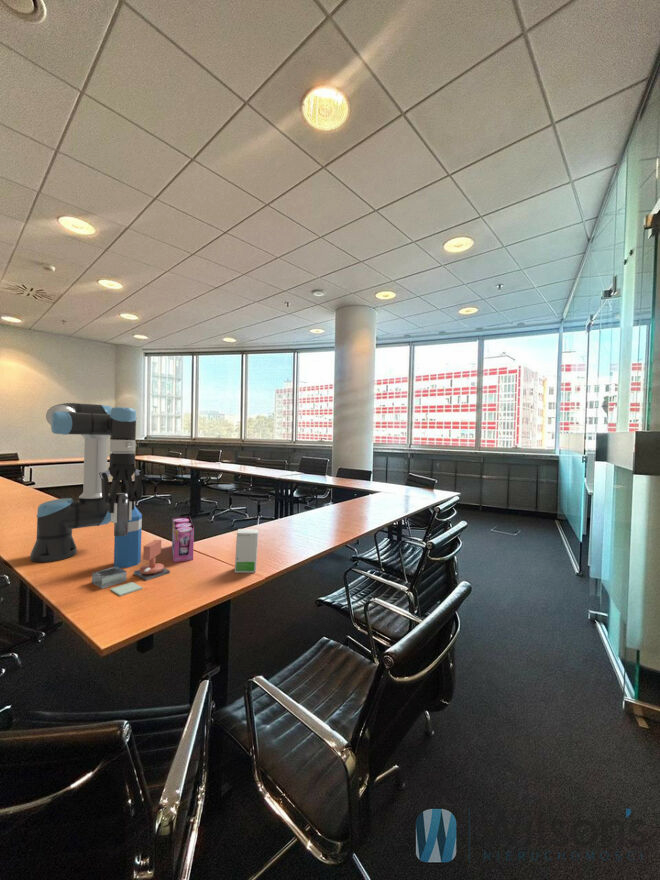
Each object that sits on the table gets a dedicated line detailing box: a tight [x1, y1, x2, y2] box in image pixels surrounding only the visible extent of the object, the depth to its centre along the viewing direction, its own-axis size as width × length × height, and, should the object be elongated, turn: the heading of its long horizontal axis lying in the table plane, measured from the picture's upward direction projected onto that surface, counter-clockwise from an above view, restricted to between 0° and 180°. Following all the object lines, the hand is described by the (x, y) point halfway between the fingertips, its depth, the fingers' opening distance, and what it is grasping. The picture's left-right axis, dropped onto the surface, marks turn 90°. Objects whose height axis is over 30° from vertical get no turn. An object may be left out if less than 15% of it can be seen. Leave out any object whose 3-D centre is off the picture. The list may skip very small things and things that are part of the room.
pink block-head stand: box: [139, 539, 165, 574], centre depth 129 cm, size 8×8×10 cm
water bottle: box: [113, 501, 143, 569], centre depth 138 cm, size 9×9×25 cm
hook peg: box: [113, 492, 129, 537], centre depth 117 cm, size 6×4×14 cm
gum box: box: [171, 516, 195, 563], centre depth 153 cm, size 24×8×14 cm, turn 26°
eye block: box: [91, 566, 128, 590], centre depth 121 cm, size 8×8×4 cm
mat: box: [110, 581, 143, 597], centre depth 116 cm, size 7×7×1 cm
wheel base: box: [133, 567, 171, 581], centre depth 130 cm, size 9×9×1 cm
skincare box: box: [234, 528, 259, 574], centre depth 136 cm, size 8×7×16 cm
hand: (121, 520), depth 117 cm, fingers closed on hook peg, 4 cm apart
